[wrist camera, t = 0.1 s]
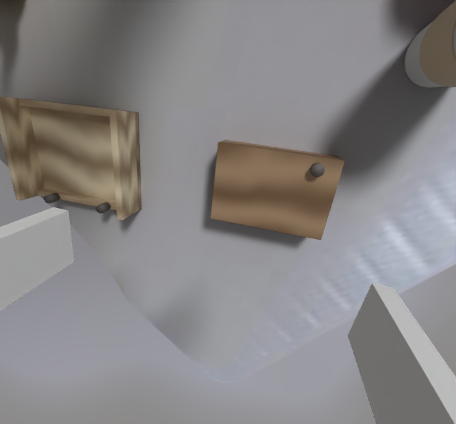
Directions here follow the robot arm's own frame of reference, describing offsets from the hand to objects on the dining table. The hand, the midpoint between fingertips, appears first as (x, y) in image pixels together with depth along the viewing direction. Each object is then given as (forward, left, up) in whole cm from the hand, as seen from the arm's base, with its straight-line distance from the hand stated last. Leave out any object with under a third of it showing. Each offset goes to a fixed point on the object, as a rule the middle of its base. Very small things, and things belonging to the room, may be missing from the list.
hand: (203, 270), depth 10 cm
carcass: (+3, -29, -28) cm, 40 cm away
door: (+3, +3, -28) cm, 28 cm away
